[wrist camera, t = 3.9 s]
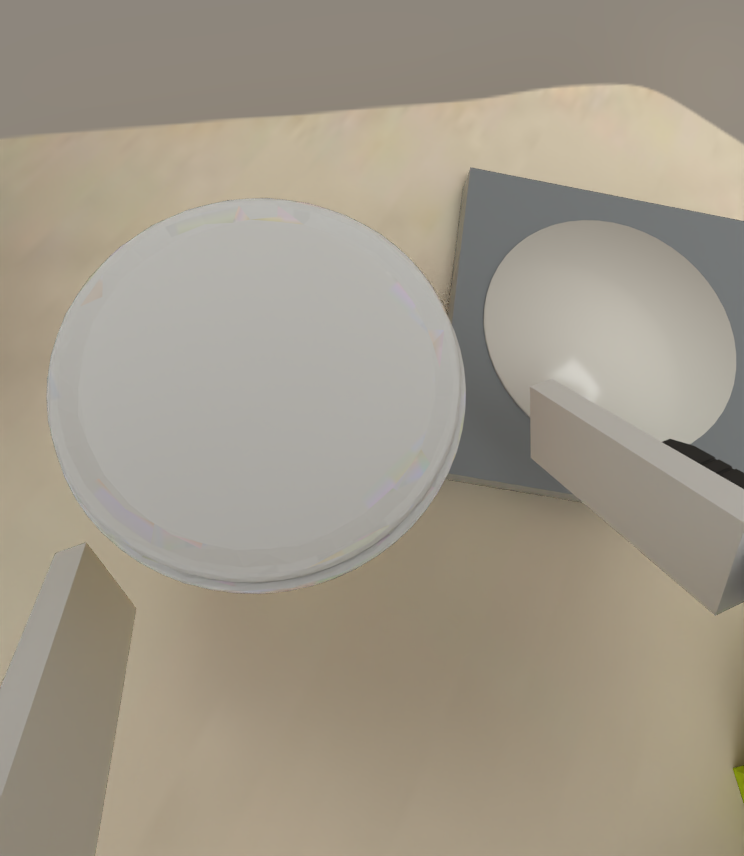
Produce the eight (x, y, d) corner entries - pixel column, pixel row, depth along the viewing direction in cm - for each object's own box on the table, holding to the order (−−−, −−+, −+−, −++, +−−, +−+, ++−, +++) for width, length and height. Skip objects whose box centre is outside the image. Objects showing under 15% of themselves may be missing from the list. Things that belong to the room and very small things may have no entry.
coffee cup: (386, 583, 20) (458, 629, 9) (176, 553, 20) (-46, 561, 8) (409, 388, 23) (489, 222, 11) (223, 359, 22) (105, 154, 11)
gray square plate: (427, 476, 22) (434, 470, 20) (462, 188, 26) (471, 164, 24) (746, 530, 22) (779, 528, 21) (726, 240, 27) (752, 219, 25)
